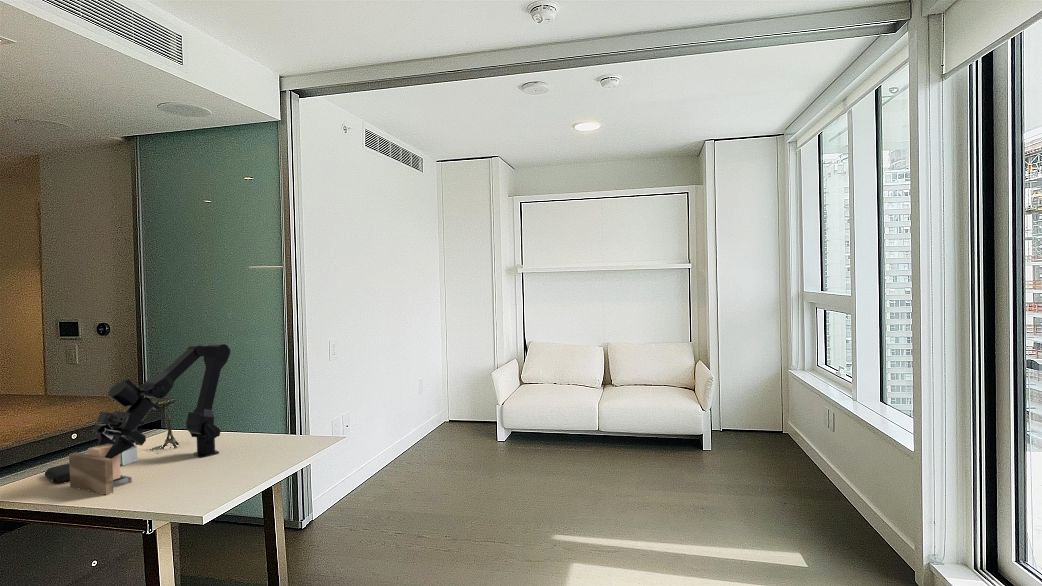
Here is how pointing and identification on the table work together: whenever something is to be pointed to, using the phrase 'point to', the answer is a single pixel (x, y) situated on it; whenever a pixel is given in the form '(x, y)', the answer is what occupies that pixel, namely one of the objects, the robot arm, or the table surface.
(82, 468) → the cleat board
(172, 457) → the table surface
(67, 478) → the carrying case or bag
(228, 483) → the table surface
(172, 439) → the eiffel tower figurine
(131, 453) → the syrup box
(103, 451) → the pinkish tan block
